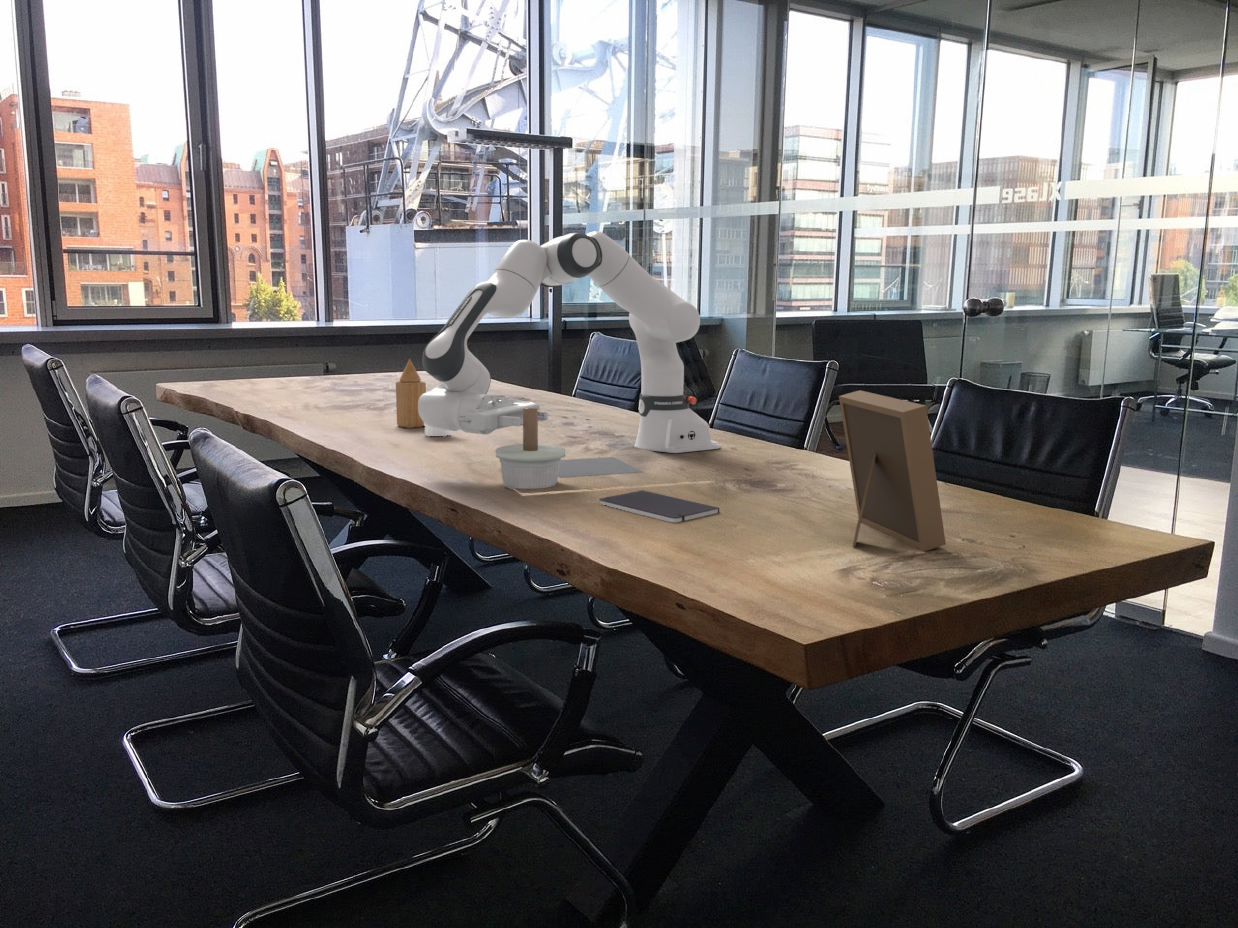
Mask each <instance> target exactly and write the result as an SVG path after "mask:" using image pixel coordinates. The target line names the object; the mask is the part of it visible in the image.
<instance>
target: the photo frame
mask: <svg viewBox="0 0 1238 928" xmlns="http://www.w3.org/2000/svg"><path fill="white" fill-rule="evenodd" d="M838 400H839V405H840V411H841V418H842V425H843V430H844V437H845V442H846V443H845V444H846V448H847V449H846V450H847V455H848V460H849V467H850V474H851V479H852V485H853V492H854V496H855V502H856V503H855V504H856V509H857V516H858V520H857V525H856V529H855V534H854V538H853V542H852V543H853V544H852V547H854V548H856V545H857V541H858V536H859V533H860V529H861V528H860V527H861V524H863V525H865V526H868V527H870V528H872V529H874V530H876V531H878V532H881V533H883V534H885V535H887V536H890V537H892V538H894V539H895V540H898V541H900V542H902V543H905V544H907V545H909V547H910V546H911V547H913V548H915V549H918V550H919V551H922V552H927V551H930V550H933V549H936V548H939V547H942V546H945V545H947V544H946V536H945V530H944V521H943V515H942V508H941V501H940V495H939V487H938V479H937V473H936V467H935V465H936V464H935V459H934V453H933V445H932V437H931V429H930V424H929V418H928V409H927V408H928V407H927V405H925V404H921V403H916V402H912V401H908V400H904V399H898V398H895V397H891V396H887V395H883V394H878V393H874V392H873V393H872V392H870V391H865V390H860V389H859V390H855V391H852V392H849V393H845V394H842V395H839V396H838Z"/></svg>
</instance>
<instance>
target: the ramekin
mask: <svg viewBox="0 0 1238 928" xmlns="http://www.w3.org/2000/svg"><path fill="white" fill-rule="evenodd" d="M561 460H562V458H560V459H556V460H550V461H537V462H522V461H509V460H503V459H500V458H499V463H500V466H501V468H500V469H501V475H502V476H501V477H502V482H503V484H504V486H505V488H507V487H508V488H507V489H509V488H510V489H509V490H512V489H515V490H514V491H518V489H520V490H521V489H523V490H524V489H525V490H527V489H528V490H533V489H544V488H545V489H546V488H550V487H554V486H556V485H557V483H558V480H559V476H558V473H559V465H560V462H561Z"/></svg>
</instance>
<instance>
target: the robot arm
mask: <svg viewBox="0 0 1238 928" xmlns="http://www.w3.org/2000/svg"><path fill="white" fill-rule="evenodd" d="M648 272H649V271H646V270H645V268H644V267H643V266H642V265H641V264H639V263H638V261H637V260H636V259H634V257H632V256H631V254H630V253H628V252H627V250H625V249H624V247H622V246H621V245H620V244H619V243H618V242H616V241H615V240H613V239H612V238H611V237H610V236H608V235H607V234H605V233H603V232H602V231H598V230H594V231H590V232H587V233H582V232H570V233H566V234H565V235H561V236H557V237H554V238H553V239H550V240H549V241H547V242H545V243H543V244H539V243H537V242H536V241H533V240H529V239H519V240H517V241H515V242H513V243H512V244H511V246H510V247H509V248H508V249H507V251H505V253H504V254H503V256H502V257H501V259H500V260H499V262H498V263H497V265H496V267H495V269H493V272H492V273H491V275H490V277H489V278H488V280H486V281H481V282H479V283H478V284H476V285H474V286H473V288H472V289H471V290H470V291H469V292H468V293H467V294H466V295H465V297H464V298H463V299H462V301H461V302H460V304H459V305H458V307H457V308H456V310H454V312H453V314H452V315H451V316H450V317H449V319H448V320H447V322H446V323H445V324H444V326H442V328H441V329H440V331H439V332H437V334H436V335H435V336H433V337H432V338H431V339H430V340H429V342H428V343H427V344H426V345H425V347H424V350H423V352H422V360H421V362H422V363H421V365H422V366H423V367H422V368H423V369H424V371H425V372H426V373H428V375H430V376H431V377H432V378H434V379H435V380H436V381H438V382H439V383H438V384H437V385H436V386H435V387H434V388H432V389H430V390H429V391H426V393H423V394H422V395H421V396H420V398H419V401H418V411H419V415H420V417H421V419H422V420H423V422H424V423H425V424H427V425H428V426H430V427H433V428H437V429H442V430H448V431H451V432H458V431H462V432H465V433H468V434H477V435H490V434H492V433H493V432H494V431H496V430H500V429H503V428H508V427H520V426H523V408H526V407H534V408H538V421H542V422H543V421H547V420H548V418H549V414H548V412H547V411H543V410H541V407H540V404H538V403H536V402H532V401H525V400H520V399H512V398H511V399H510V396H509V395H508V396H507V395H492V394H487V393H488V391H489V390H490V389H489V388H490V386H491V382H492V381H491V380H492V378H491V374H490V372H489V370H488V369H487V367H486V366H484V364H483V363H482V362H481V361H480V360H479V359H478V358H477V357H476V355H474V354H473V353H472V352H471V351H470V350H469V348H468V339H469V337H470V336H471V335H472V333H473V332H474V330H475V329H476V328H477V326H478V325H479V323H480V322H481V320H482V319H483V318H484V316H486V315H487V314H489V315H492V316H496V317H498V318H499V317H500V318H505V319H507V318H508V319H514V318H517V317H519V316H521V315H524V313H525V312H527V310H528V309H529V308H530V306H531V304H532V302H533V300H534V298H535V297H536V294H537V292H538V290H539V288H540V286H541V287H544V288H555V287H557V286H562V285H568V284H570V283H572V282H574V281H577V280H578V279H581V278H582V279H583V278H585V277H587V276H588V277H589V278H590V280H592V281H593V283H595V285H596V286H598V287H599V289H601V290H602V291H603V292H604V294H606V295H607V296H608V297H609V298H610V299H611V300H612V301H613V302H614V303H615V304H616V305H617V306H618V307H620V308H621V309H622V310H625V311H627V312H628V313H629V315H628V321H629V322H628V323H629V326H630V328H631V329H632V332H633V333H634V335H635V339H636V343H637V348H638V352H639V357H640V359H639V360H640V366H641V367H640V370H641V372H640V373H641V376H640V377H641V381H640V382H641V383H640V385H641V390H640V391H641V392H640V393H639V401H638V410H639V411H638V413H639V424H638V431H637V435H636V440H635V442H634V447H635V448H638V449H641V450H648V451H651V452H659V453H661V452H662V453H663V452H664V453H668V454H669V453H670V454H679V453H688V452H689V453H690V452H697V451H698V452H699V451H709V450H717V449H720V443H719V442H717V441H715V440H713V439H712V435H711V428H710V425H709V423H708V422H707V421H706V420H705V419H703V418H702V417H700V416H699V415H698V414H697V413H696V412H695V411H693V410H692V409H691V408H690V405H696V403H697V398H696V397H695V396H692V395H690V396H688V395H686V394H684V384H685V383H684V381H685V380H684V379H685V377H684V376H685V365H684V362H683V360H682V358H681V356H680V354H679V351H678V347H677V343H680V342H685V341H688V340H690V339H692V338H693V337H694V336H695V335H696V334H697V333H698V331H699V329H700V325H701V317H700V313H699V311H698V309H697V308H696V306H695V305H693V304H691V303H690V302H687V301H686V300H684V299H683V298H681V297H680V296H679V295H678V294H677V293H675V292H674V291H673V290H672V289H670V288H669V287H667V286H666V285H664V284H663V283H662V282H660V281H659V280H658V279H656V278H655V277H653V276H652V275H651V274H650V273H648Z"/></svg>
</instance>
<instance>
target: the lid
mask: <svg viewBox="0 0 1238 928" xmlns="http://www.w3.org/2000/svg"><path fill="white" fill-rule="evenodd" d="M495 457H496V458H498V459H499V460H500V459H503V460H509V461H522V462H537V461H550V460H556V459H560V458H561V459H563V458H565V457H566V449H565V447H563V446H559V445H553V444H547V443H546V444H544V443H542V444H541V443H539V420H538V408H534V407H526V408H523V425H522V443H519V444H518V443H517V444H509V445H504V446H499V447H497V448H496V449H495Z"/></svg>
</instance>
